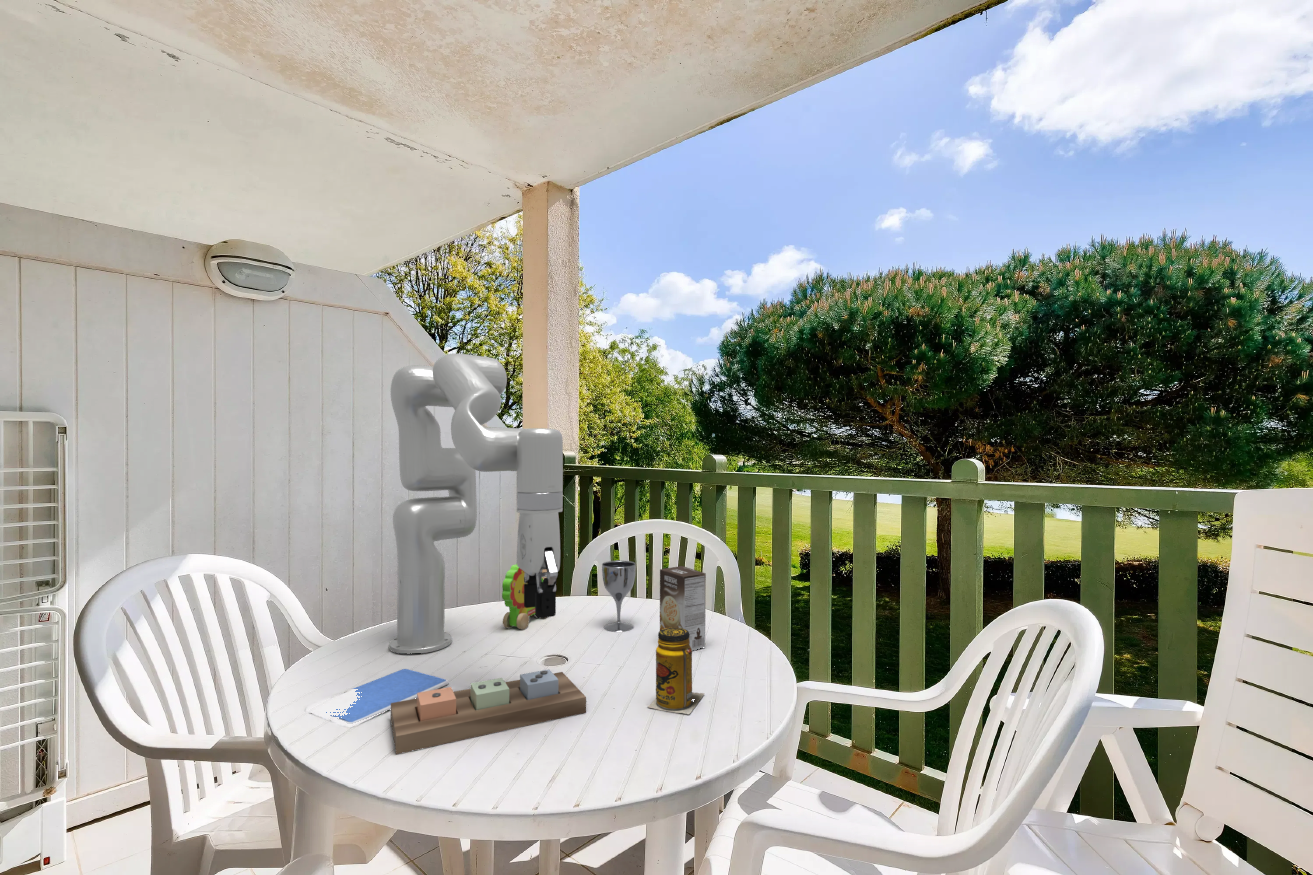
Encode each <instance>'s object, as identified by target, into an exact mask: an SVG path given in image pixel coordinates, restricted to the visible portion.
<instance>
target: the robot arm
mask: <svg viewBox="0 0 1313 875" xmlns="http://www.w3.org/2000/svg"><path fill="white" fill-rule="evenodd" d="M507 380H508V375H507V372H506V369H505V368H504V365H503V364H502V363H501V362H500V361H498V360H497V359H496V358H493V357H488V356H482V355H473V354H465V353H449V354H448V353H447V354H445V355H442V356H441V357H440V358H438V359H436V361H435V362H434V364H433V365H431V366H430V365H420V364H419V365H407V366H403V367H401V368H399V369H398V370H396V372H395V373H394V375H393V377H392V380H391V383H390V390H389V391H390V401H391V406H392V410H393V413H394V416H395V419H396V423H397V427H398V428H397V429H398V458H399V459H398V460H399V461H398V463H399V477H400V482H401V485H402V487H403V488H404V489H405V490H407V491H411V492H439V491H447V492H448V496H430V497H429V496H428V497H417V498H411V499H407V500H404V501H402V502H401V503H399V504H398V505H397V506H396V508H394V511H393V514H392V524H393V530H394V536H395V543H396V553H397V554H396V556H397V557H396V558H397V560H396V562H397V592H396V593H397V597H396V598H397V599H396V600H397V602H396V603H397V606H396V607H397V609H396V610H397V612H396V615H397V617H396V621H397V622H396V625H397V626H396V628H397V629H396V630H397V631H396V637H394V638H393V639H391V640H390V641H389V643H388V649H389V650H390V651H391V650H392V651H393V652H392V651H391V652H392V653H395V652H396V653H395V654H399V653H407V654H406V655H413V654H412V653H421V654H427V653H433V652H436V651H439V650H442V649H444V648H446V647H448V646H450V644H452V642H453V635H452V634H451V633H450V632H446V631H445V618H446V617H445V610H446V609H445V606H446V602H445V599H446V597H445V596H446V595H445V594H446V591H445V589H446V588H445V587H446V586H445V584H446V582H445V580H446V575H445V574H446V562H445V558H444V556H443V554H442V553H441V551H440V550H439V549H438V548H437V546H436V545H435V542H438V541H444V540H453V539H460V538H461V539H462V538H465V537H468V536H469V535H471V534H472V533H473V532H474V531H475V528H476V526H477V518H478V511H477V510H478V509H477V508H478V506H477V504H478V502H477V501H478V500H477V473H476V471H477V472H484V473H485V472H486V473H487V472H489V473H490V472H491V473H492V472H507V471H508V472H516V513H519V517H518V525H517V540H516V542H517V543H516V563H517V566H518V567H519V568H520V569H522V570H523V571H524V572H525V574H524V583H528V584H524V607H525V608H531V607H535V616H534V617H536V619H546V618H545V617H547V618H551V617H555V616H556V613H557V610H556V609H557V606H556V605H557V604H556V603H557V601H556V599H557V597H556V596H557V585H556V584H557V578H558V575H559V573H558V572H560V570H561V569H560V567H561V533H560V532H561V530H560V518H559V513H562V512H563V509H564V508H563V502H564V501H563V499H564V498H563V496H564V494H563V492H564V491H563V485H564V481H563V480H564V479H563V478H564V476H563V475H564V469H563V467H564V466H563V465H564V460H563V458H564V455H563V454H564V453H563V452H564V446H563V445H564V444H563V443H564V442H563V440H564V438H563V434H562V432H561V431H560V430H558V429H555V428H543V427H542V428H538V427H537V428H536V427H533V428H530V427H529V428H520V427H519V428H516V427H515V428H514V427H489V426H488V427H485V426H483V425H484V424H487V423H488V422H490V421H491V420H493V419H494V418H495V417H496V415H497V414H498V412H499V410H500V409H501V405H502V397H501V395H502V394H503V393H504V391H505V389H506V387H507V384H508V383H507V382H508V381H507ZM427 407H441V408H453V410H454V412H453V415H452V418H451V423H450V433H451V440H452V442H453V446H454V447H443V446H442V440H441V433H442V432H441V427H440V424H439V422H438V420H437V419H436V417H435V416H434V414H433V413H432V412H431V410H429V409H428V408H427ZM543 570H546V571H543ZM542 578H543V582H542ZM410 653H411V654H410Z"/></svg>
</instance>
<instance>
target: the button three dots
mask: <svg viewBox="0 0 1313 875" xmlns="http://www.w3.org/2000/svg"><path fill="white" fill-rule="evenodd" d="M519 680H520V691H521V693H522V694H523V696H524V697H525V698H526V700H530V699H535V698H540V697H545V696H550V695H555V694H558V678H557V677H556V676H555V675H554V674H553V672H552V670H550V669H543V670H537V671H531V672H526V673H521V674H519Z"/></svg>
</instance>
